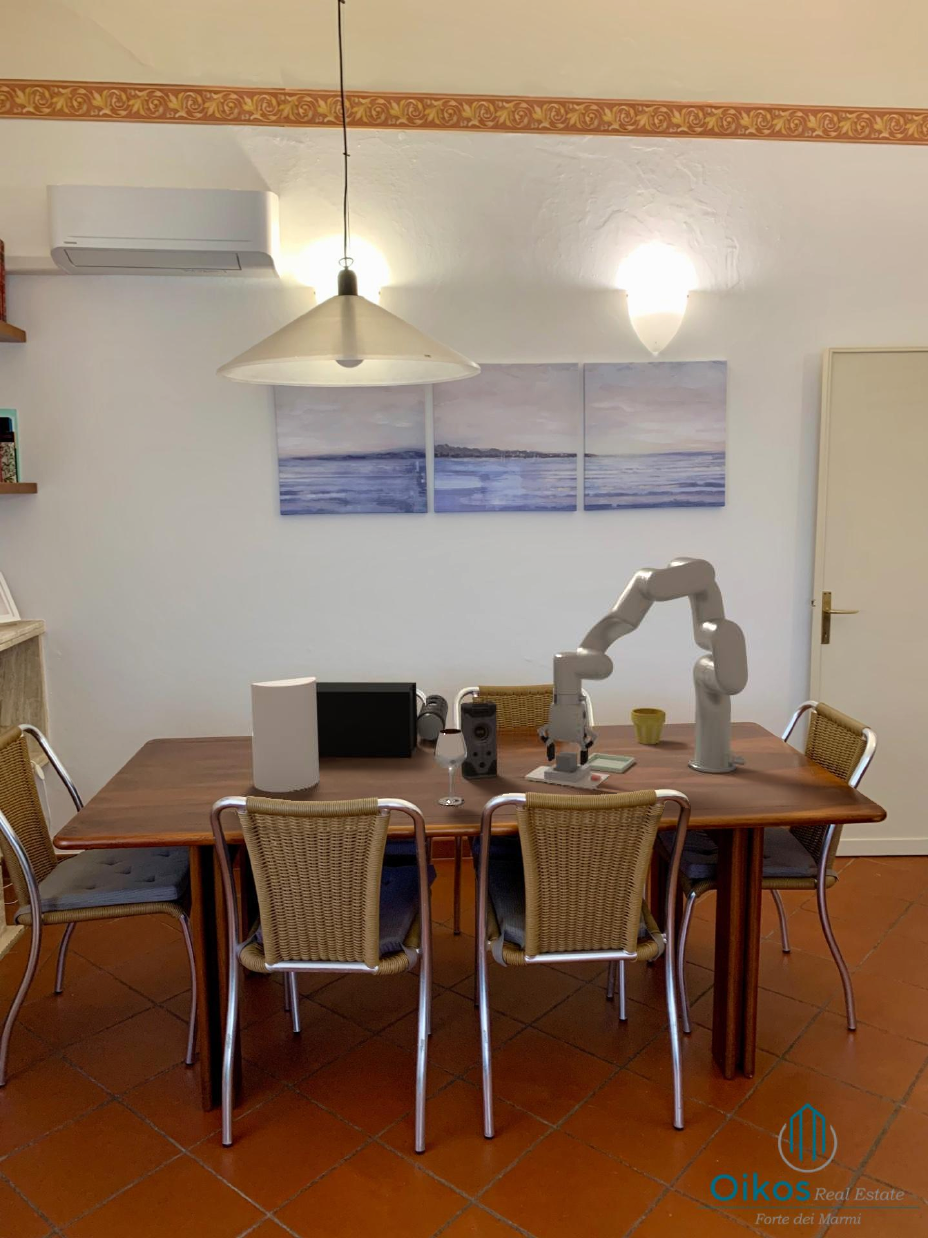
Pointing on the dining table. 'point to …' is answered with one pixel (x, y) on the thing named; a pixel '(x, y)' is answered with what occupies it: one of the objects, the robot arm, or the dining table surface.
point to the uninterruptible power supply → (366, 719)
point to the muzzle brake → (432, 717)
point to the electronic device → (479, 739)
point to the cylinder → (285, 734)
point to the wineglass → (450, 757)
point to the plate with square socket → (568, 776)
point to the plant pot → (648, 724)
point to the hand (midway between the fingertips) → (567, 762)
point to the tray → (609, 762)
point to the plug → (566, 762)
